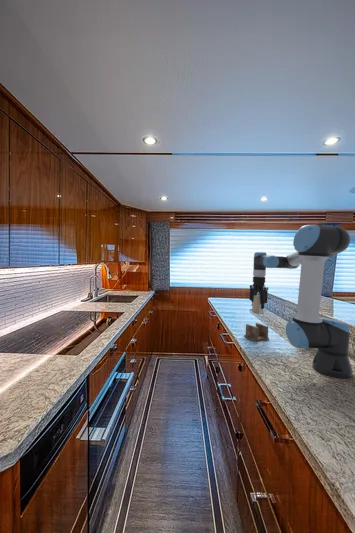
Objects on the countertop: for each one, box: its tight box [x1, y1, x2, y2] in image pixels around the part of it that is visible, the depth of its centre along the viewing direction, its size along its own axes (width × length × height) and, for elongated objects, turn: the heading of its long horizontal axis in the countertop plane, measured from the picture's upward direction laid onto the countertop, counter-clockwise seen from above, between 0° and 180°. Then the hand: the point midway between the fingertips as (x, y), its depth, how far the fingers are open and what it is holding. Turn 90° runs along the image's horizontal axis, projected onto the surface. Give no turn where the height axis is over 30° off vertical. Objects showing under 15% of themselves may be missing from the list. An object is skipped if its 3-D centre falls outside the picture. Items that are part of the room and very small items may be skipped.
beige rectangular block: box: [252, 294, 261, 315], centre depth 148 cm, size 5×5×11 cm
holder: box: [244, 322, 270, 343], centre depth 148 cm, size 10×11×8 cm
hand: (257, 312), depth 148 cm, fingers closed on beige rectangular block, 5 cm apart
